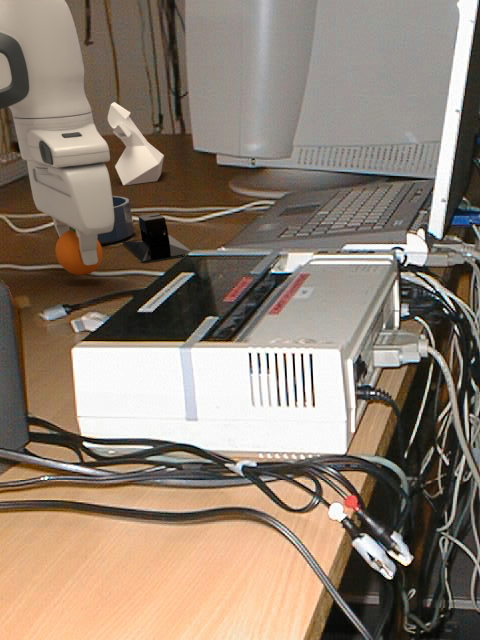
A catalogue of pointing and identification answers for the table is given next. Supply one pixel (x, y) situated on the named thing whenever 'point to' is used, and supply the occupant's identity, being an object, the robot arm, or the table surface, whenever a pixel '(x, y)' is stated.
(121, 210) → the bowl
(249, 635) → the table surface
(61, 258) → the toy tangerine
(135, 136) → the white angular stand
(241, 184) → the table surface
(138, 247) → the black winged block
